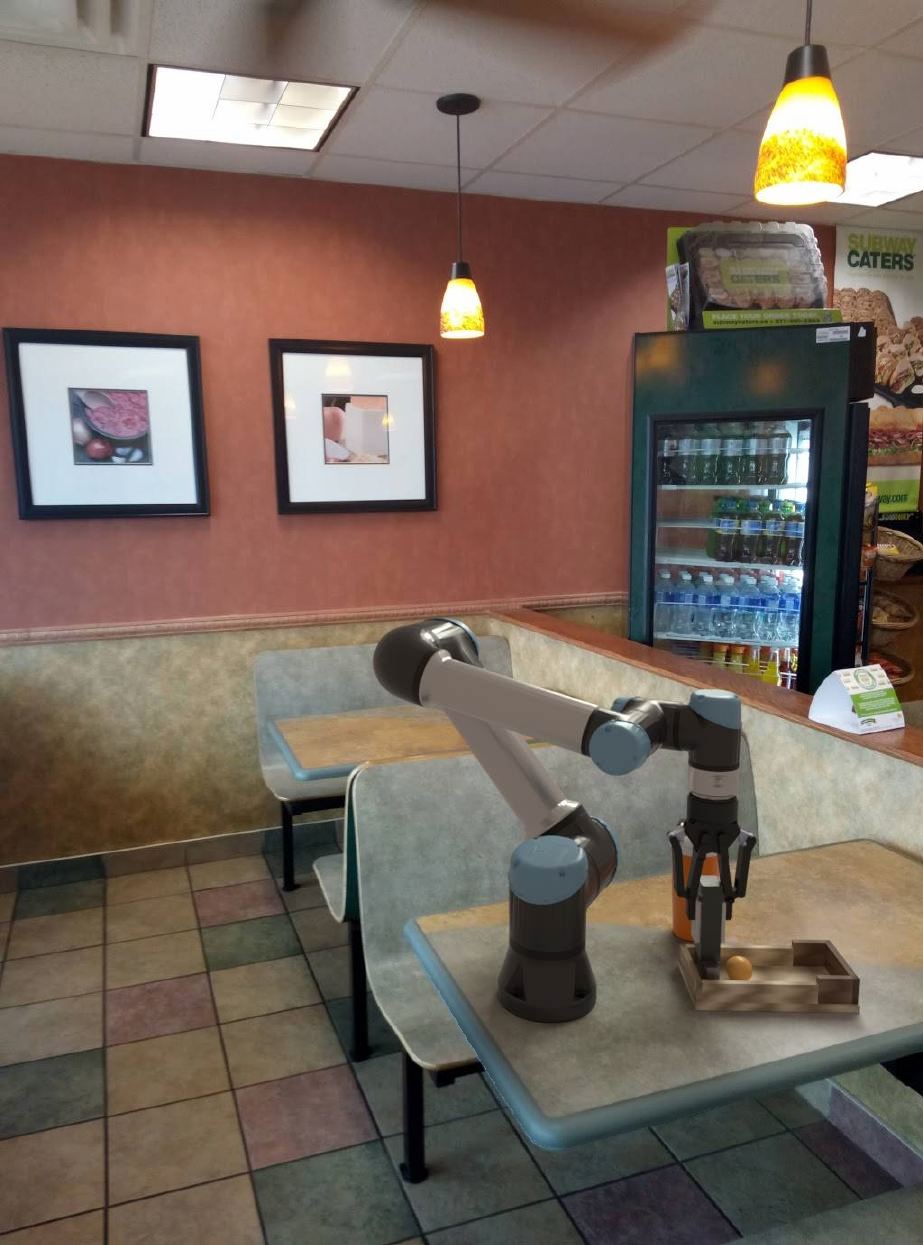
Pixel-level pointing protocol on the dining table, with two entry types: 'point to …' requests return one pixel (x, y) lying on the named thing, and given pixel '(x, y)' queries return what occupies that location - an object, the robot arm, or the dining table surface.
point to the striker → (709, 928)
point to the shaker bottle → (679, 903)
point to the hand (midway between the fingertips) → (707, 938)
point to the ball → (739, 968)
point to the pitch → (776, 979)
